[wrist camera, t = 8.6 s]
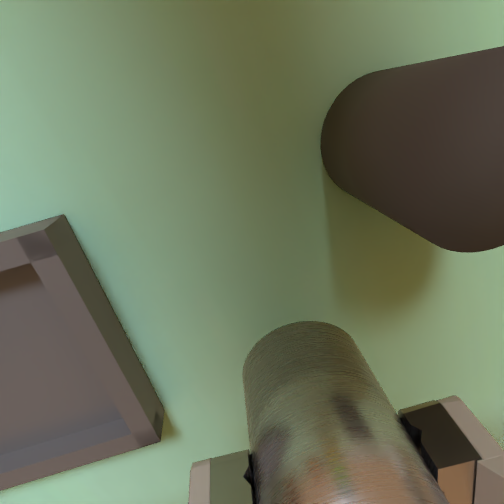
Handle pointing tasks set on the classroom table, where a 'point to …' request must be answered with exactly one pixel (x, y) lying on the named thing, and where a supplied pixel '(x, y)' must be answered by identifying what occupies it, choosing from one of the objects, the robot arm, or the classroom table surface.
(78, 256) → the tray
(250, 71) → the classroom table surface
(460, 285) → the classroom table surface
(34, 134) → the classroom table surface
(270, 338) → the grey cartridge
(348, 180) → the cylinder
